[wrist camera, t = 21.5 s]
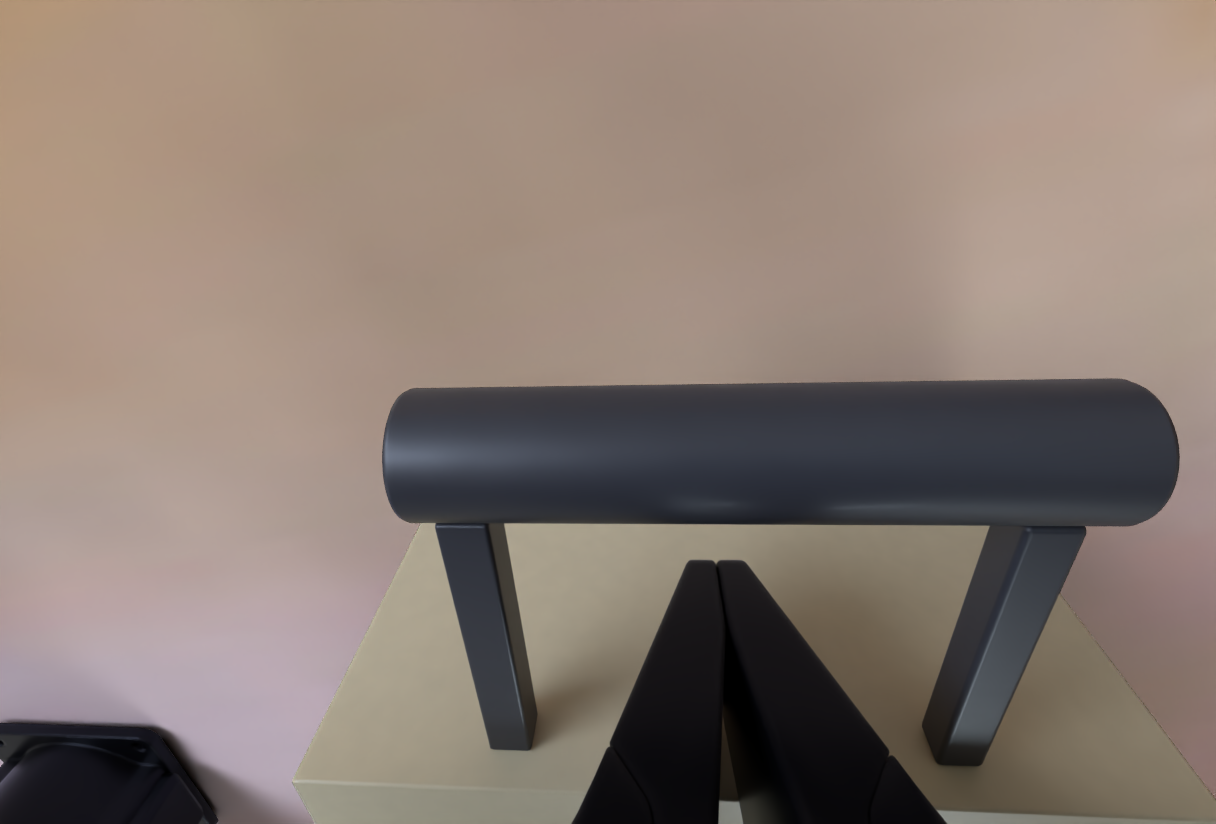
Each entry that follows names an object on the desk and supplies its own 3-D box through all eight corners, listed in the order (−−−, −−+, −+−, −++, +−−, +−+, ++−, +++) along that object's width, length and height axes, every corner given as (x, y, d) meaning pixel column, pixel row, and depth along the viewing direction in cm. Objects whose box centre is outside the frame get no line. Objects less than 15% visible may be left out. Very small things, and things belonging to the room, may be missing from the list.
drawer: (385, 244, 11) (100, 443, 6) (1057, 221, 10) (1579, 433, 5) (524, 842, 22) (479, 1120, 17) (857, 858, 21) (933, 1160, 16)
